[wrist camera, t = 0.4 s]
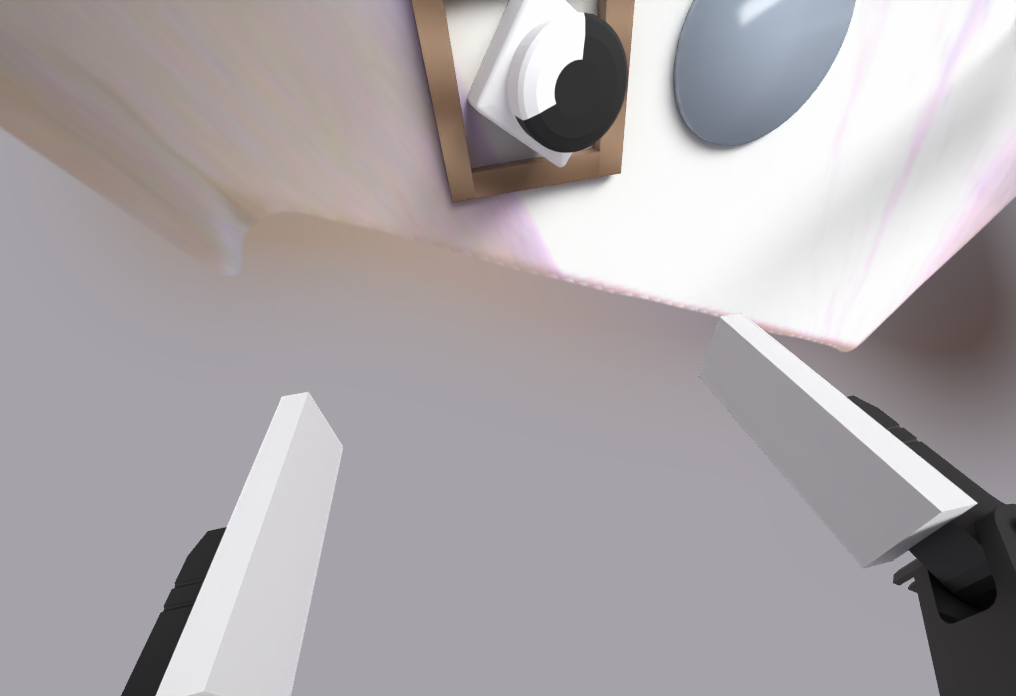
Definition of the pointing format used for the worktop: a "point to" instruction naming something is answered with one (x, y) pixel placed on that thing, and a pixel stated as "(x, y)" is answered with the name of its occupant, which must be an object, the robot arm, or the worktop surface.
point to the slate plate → (753, 63)
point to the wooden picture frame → (518, 174)
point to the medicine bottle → (552, 77)
